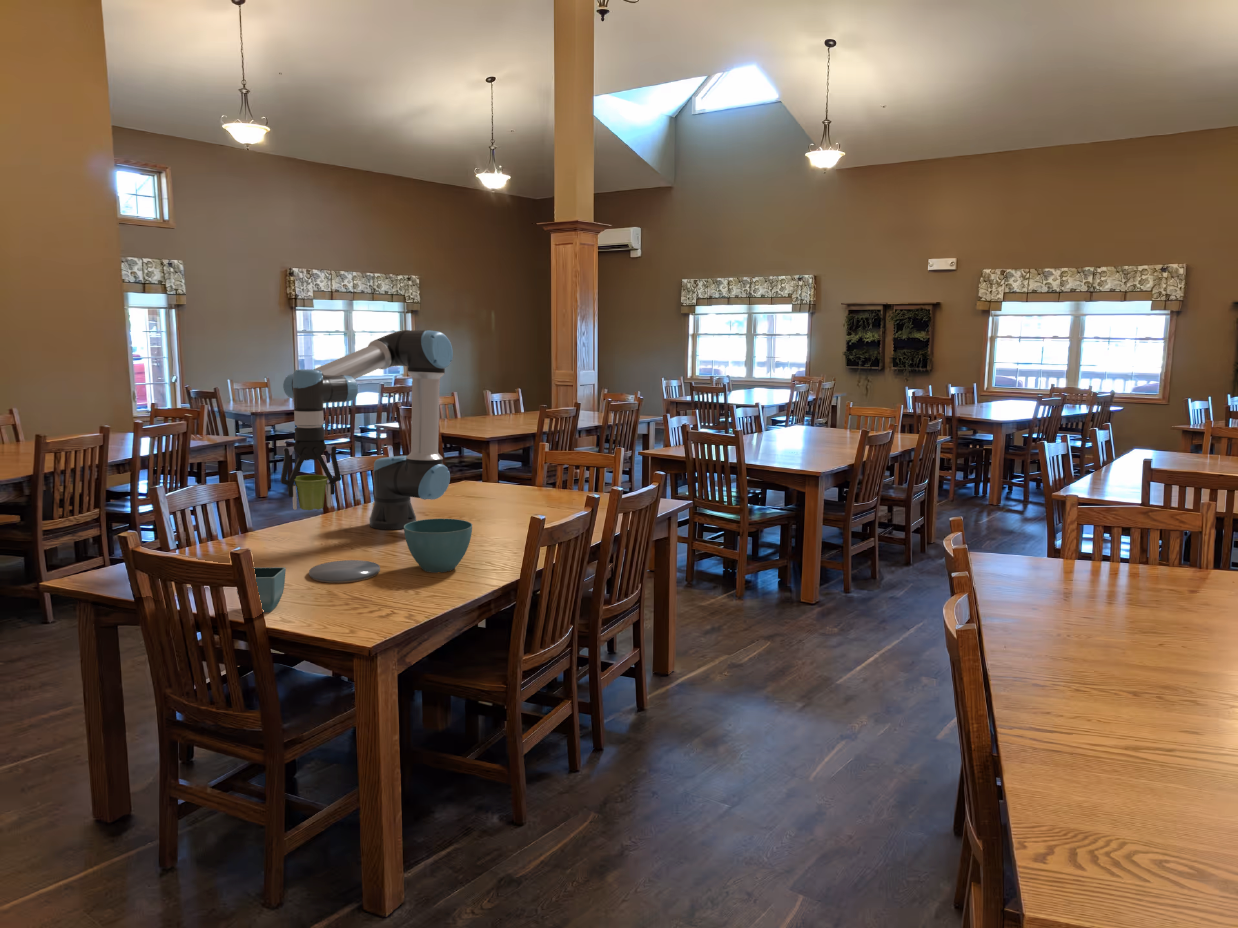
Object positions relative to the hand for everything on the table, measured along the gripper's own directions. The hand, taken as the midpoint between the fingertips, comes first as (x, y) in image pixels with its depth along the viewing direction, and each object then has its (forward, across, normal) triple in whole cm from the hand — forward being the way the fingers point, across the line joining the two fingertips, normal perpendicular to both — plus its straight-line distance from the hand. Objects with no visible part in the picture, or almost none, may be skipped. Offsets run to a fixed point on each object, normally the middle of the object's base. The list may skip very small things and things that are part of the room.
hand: (312, 507), depth 232 cm
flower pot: (+16, +16, +39) cm, 45 cm away
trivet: (+15, -6, +16) cm, 23 cm away
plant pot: (0, 0, 0) cm, 1 cm away
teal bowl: (+16, -30, +21) cm, 40 cm away
